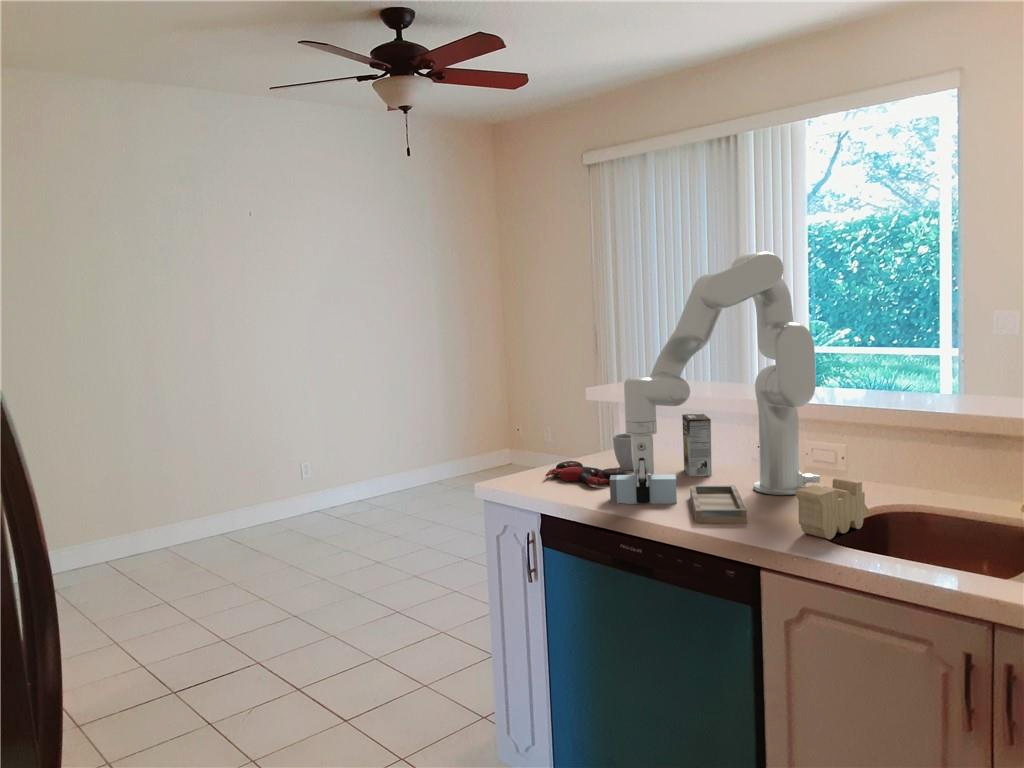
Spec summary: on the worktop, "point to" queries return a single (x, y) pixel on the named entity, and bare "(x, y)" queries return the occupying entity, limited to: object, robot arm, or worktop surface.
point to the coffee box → (697, 444)
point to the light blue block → (659, 486)
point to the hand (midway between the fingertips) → (643, 498)
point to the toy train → (831, 508)
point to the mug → (623, 451)
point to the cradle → (717, 505)
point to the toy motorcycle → (584, 473)
